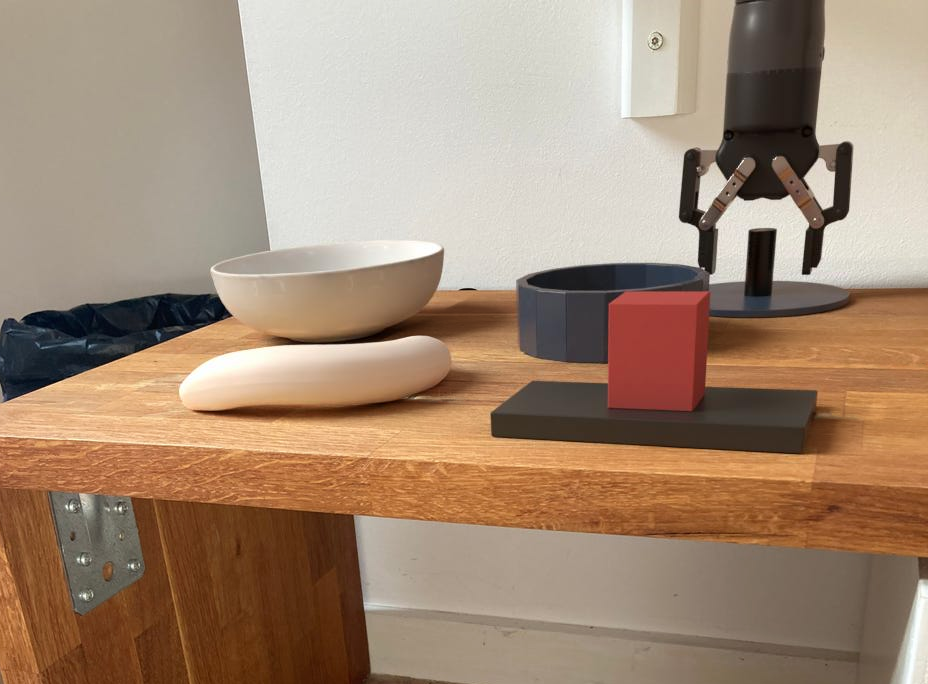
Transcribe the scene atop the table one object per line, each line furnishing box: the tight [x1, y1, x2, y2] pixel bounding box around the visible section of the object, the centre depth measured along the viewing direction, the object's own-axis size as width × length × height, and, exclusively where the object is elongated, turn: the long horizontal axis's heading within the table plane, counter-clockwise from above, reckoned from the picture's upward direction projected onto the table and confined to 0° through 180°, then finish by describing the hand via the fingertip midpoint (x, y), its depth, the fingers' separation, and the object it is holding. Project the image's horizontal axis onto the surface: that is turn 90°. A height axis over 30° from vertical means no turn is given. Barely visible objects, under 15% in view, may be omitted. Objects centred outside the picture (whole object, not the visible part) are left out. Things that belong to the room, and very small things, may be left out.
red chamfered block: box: [607, 291, 710, 412], centre depth 60 cm, size 5×4×6 cm
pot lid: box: [709, 227, 851, 319], centre depth 92 cm, size 16×16×7 cm
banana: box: [178, 335, 453, 411], centre depth 73 cm, size 5×19×15 cm
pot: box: [515, 262, 711, 365], centre depth 81 cm, size 15×15×6 cm
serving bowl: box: [210, 239, 445, 344], centre depth 93 cm, size 21×21×7 cm
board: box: [490, 380, 819, 455], centre depth 62 cm, size 18×8×2 cm, turn 68°
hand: (757, 273), depth 92 cm, fingers open, 8 cm apart
